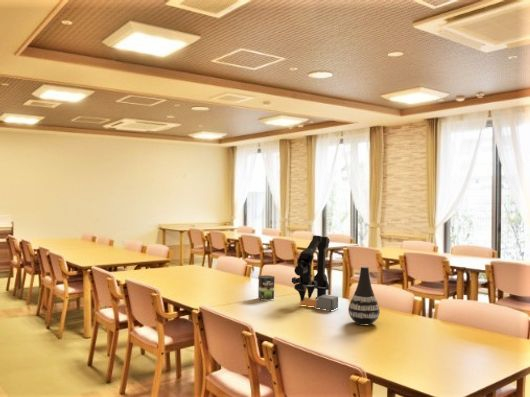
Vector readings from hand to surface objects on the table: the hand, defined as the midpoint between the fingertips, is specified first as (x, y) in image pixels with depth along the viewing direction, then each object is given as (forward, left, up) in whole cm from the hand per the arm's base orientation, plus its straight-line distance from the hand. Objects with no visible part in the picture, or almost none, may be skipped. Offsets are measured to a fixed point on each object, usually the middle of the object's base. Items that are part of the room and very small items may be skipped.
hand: (305, 299), depth 289 cm
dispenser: (0, +14, -4) cm, 15 cm away
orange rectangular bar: (0, +7, -4) cm, 9 cm away
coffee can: (-2, -29, -4) cm, 29 cm away
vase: (+18, +43, -4) cm, 47 cm away
